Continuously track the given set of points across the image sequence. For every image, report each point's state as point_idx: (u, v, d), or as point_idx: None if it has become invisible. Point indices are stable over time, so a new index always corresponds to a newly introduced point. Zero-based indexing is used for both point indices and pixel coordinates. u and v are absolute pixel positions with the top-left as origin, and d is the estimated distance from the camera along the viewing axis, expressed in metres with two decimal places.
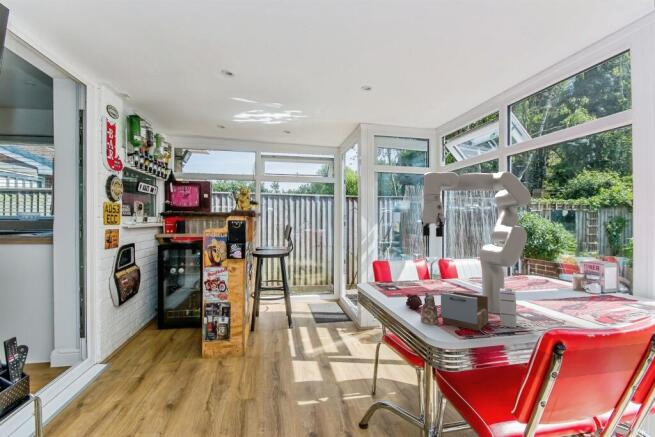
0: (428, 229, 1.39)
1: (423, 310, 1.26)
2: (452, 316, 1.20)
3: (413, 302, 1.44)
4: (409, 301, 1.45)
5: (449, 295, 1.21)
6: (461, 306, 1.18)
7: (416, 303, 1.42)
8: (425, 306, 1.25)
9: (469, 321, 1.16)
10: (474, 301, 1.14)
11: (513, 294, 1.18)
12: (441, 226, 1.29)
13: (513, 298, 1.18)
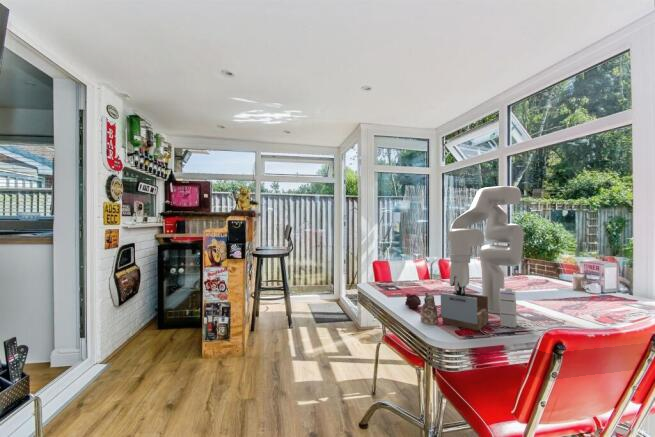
0: None
1: (423, 310, 1.26)
2: (452, 316, 1.20)
3: (412, 302, 1.44)
4: (408, 301, 1.46)
5: (449, 295, 1.21)
6: (461, 306, 1.18)
7: (415, 303, 1.42)
8: (425, 306, 1.25)
9: (469, 321, 1.16)
10: (474, 301, 1.14)
11: (513, 294, 1.18)
12: None
13: (513, 298, 1.18)
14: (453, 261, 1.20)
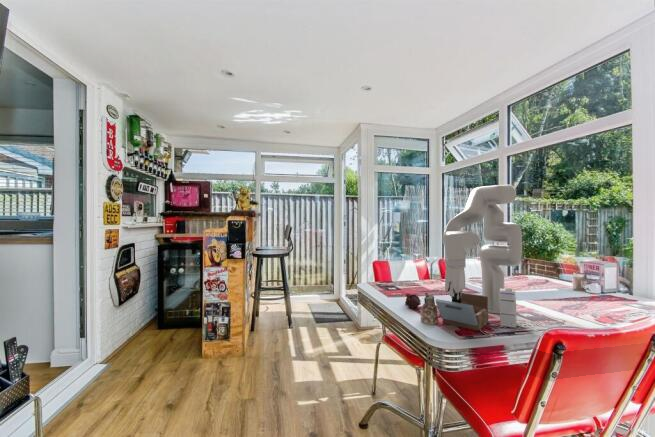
0: None
1: (423, 310, 1.26)
2: (452, 318, 1.20)
3: (411, 302, 1.44)
4: (408, 301, 1.46)
5: (444, 303, 1.17)
6: (458, 312, 1.16)
7: (414, 303, 1.43)
8: (425, 306, 1.25)
9: (469, 323, 1.16)
10: (470, 309, 1.11)
11: (513, 294, 1.18)
12: None
13: (513, 298, 1.18)
14: (448, 266, 1.16)
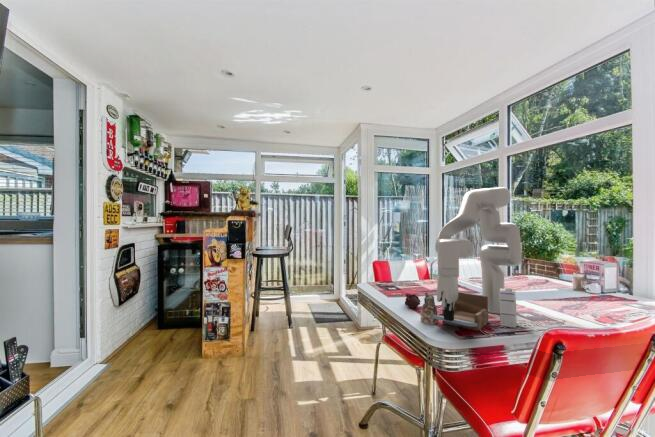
0: None
1: (423, 310, 1.26)
2: None
3: (411, 302, 1.44)
4: (407, 300, 1.46)
5: None
6: None
7: (414, 303, 1.43)
8: (425, 306, 1.25)
9: None
10: None
11: (513, 294, 1.18)
12: None
13: (513, 298, 1.18)
14: (440, 275, 1.11)
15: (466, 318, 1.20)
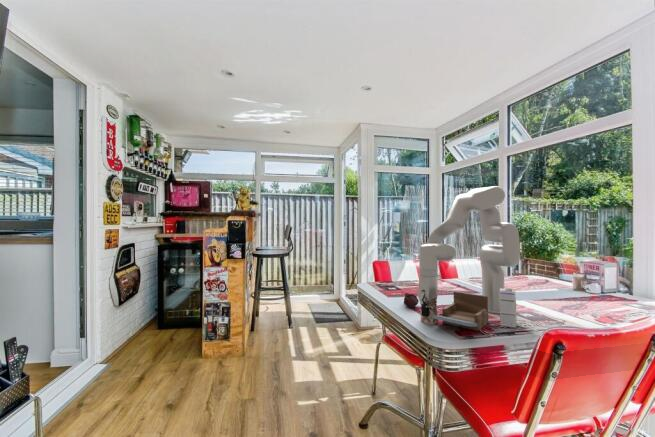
0: None
1: None
2: None
3: (409, 301, 1.45)
4: (405, 300, 1.47)
5: None
6: None
7: (412, 302, 1.44)
8: None
9: None
10: None
11: (513, 294, 1.18)
12: None
13: (513, 298, 1.18)
14: (421, 275, 1.25)
15: (466, 318, 1.20)
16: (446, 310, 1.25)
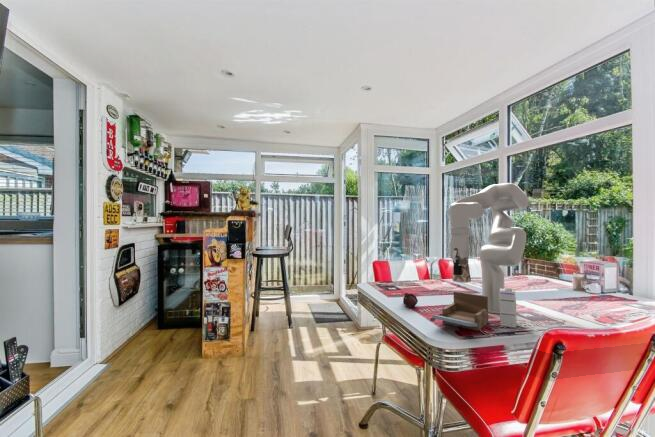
0: None
1: None
2: None
3: (408, 301, 1.46)
4: (405, 300, 1.48)
5: None
6: None
7: (411, 302, 1.44)
8: None
9: None
10: None
11: (513, 294, 1.18)
12: None
13: (513, 298, 1.18)
14: (453, 234, 1.24)
15: (466, 318, 1.20)
16: (446, 310, 1.25)
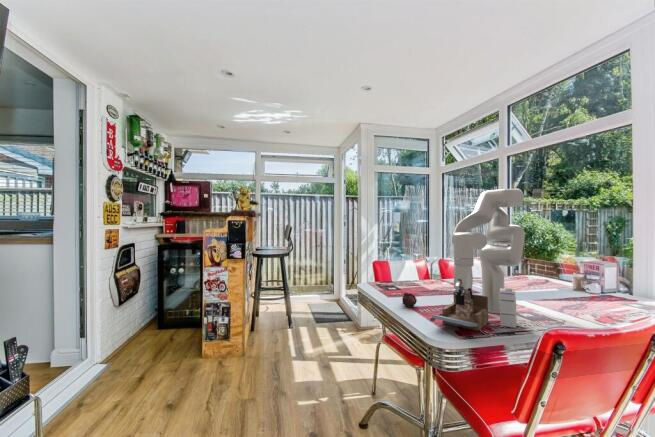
0: None
1: None
2: None
3: (407, 300, 1.46)
4: (403, 299, 1.48)
5: None
6: None
7: (409, 301, 1.45)
8: None
9: None
10: None
11: (513, 294, 1.18)
12: None
13: (513, 298, 1.18)
14: (457, 264, 1.23)
15: (465, 318, 1.20)
16: (446, 310, 1.25)
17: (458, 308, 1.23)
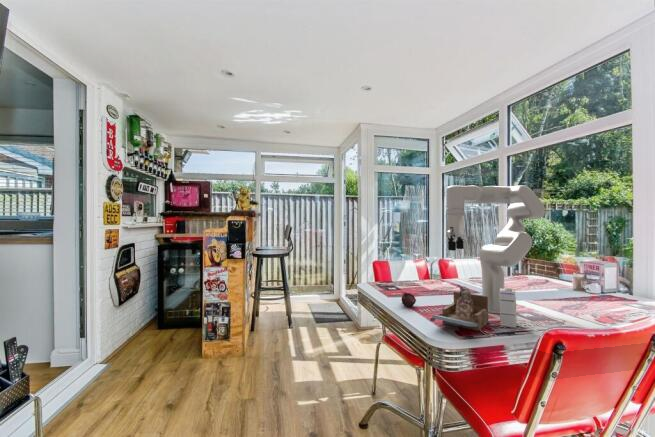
0: None
1: (459, 304, 1.23)
2: None
3: (406, 300, 1.47)
4: (403, 299, 1.49)
5: None
6: None
7: (408, 301, 1.45)
8: (461, 300, 1.23)
9: None
10: None
11: (513, 294, 1.18)
12: None
13: (513, 298, 1.18)
14: (449, 214, 1.33)
15: (465, 318, 1.20)
16: (446, 310, 1.25)
17: (458, 308, 1.23)
